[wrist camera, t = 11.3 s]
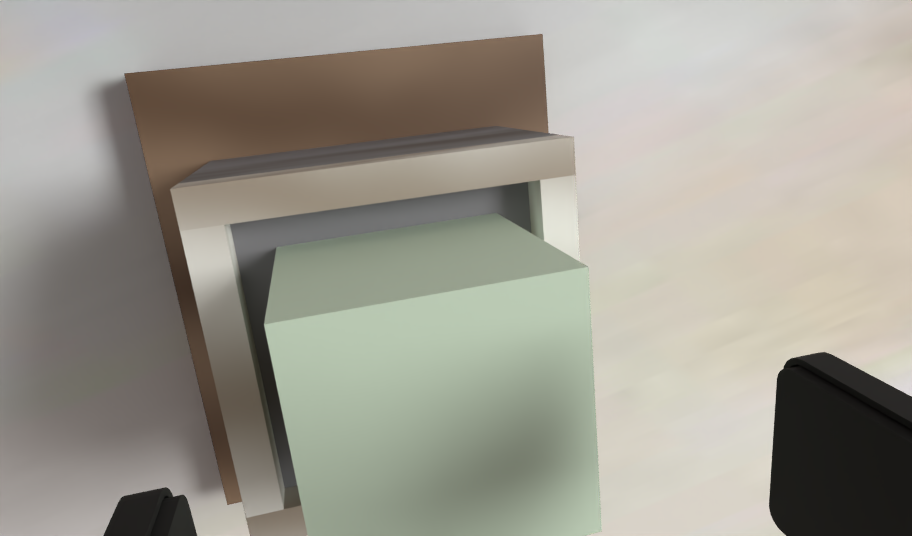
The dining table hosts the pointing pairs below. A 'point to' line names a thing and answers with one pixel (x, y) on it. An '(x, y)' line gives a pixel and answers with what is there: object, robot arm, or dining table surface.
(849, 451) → the robot arm
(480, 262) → the sage block
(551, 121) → the dining table surface
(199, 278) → the pillar base
